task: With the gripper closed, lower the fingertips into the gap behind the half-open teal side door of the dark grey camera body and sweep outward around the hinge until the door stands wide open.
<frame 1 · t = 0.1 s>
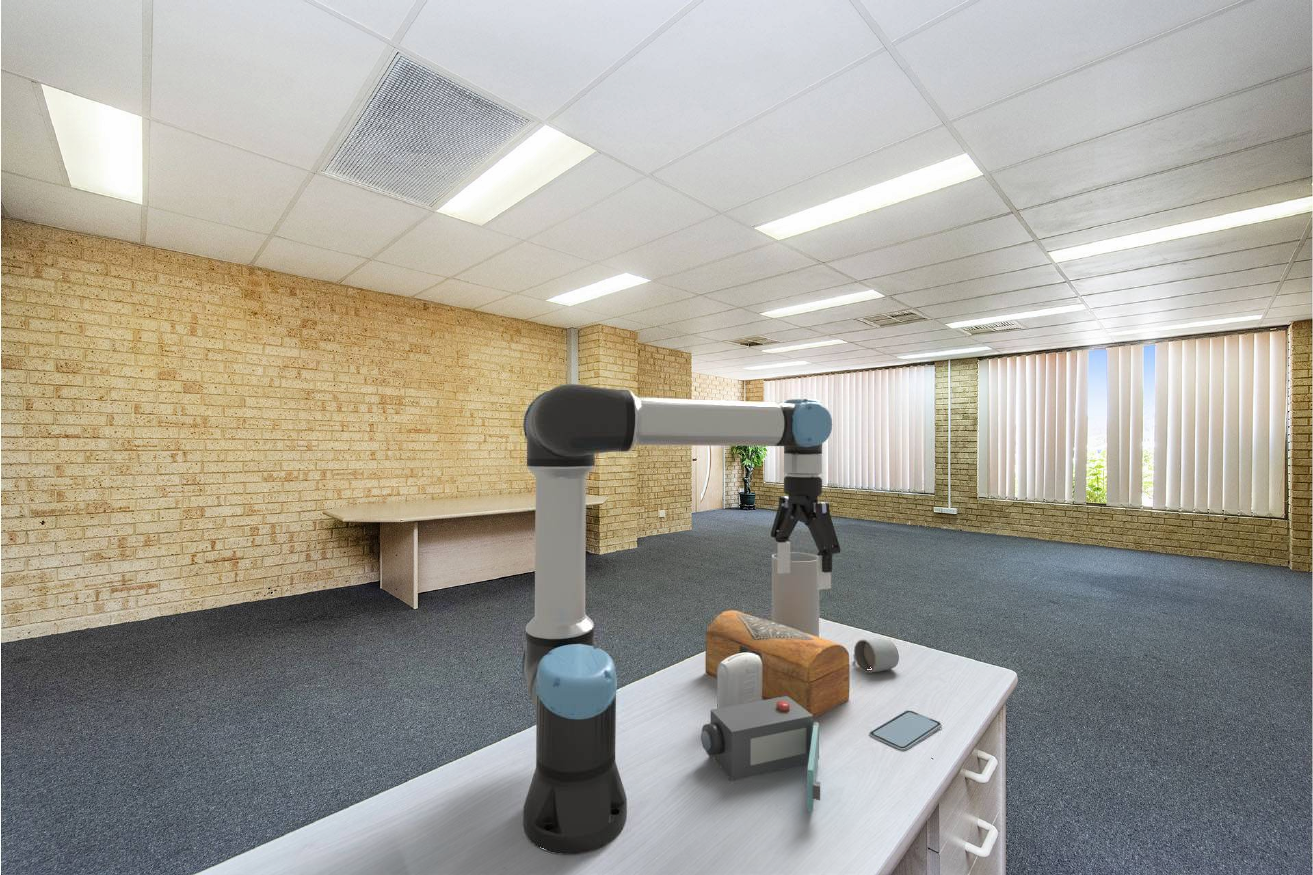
hand: (802, 580, 111), 28 cm above the table, tool pointing down, fingers open, 13 cm apart
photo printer: (739, 716, 112), on the table
cylinder vase: (795, 649, 148), on the table
side door: (816, 763, 88), point 4 cm above the table, hinge at 50.0°
ceramic mug: (872, 668, 136), on the table
camera body: (761, 758, 96), on the table
smartphone: (905, 733, 106), on the table
wooden box: (772, 687, 126), on the table
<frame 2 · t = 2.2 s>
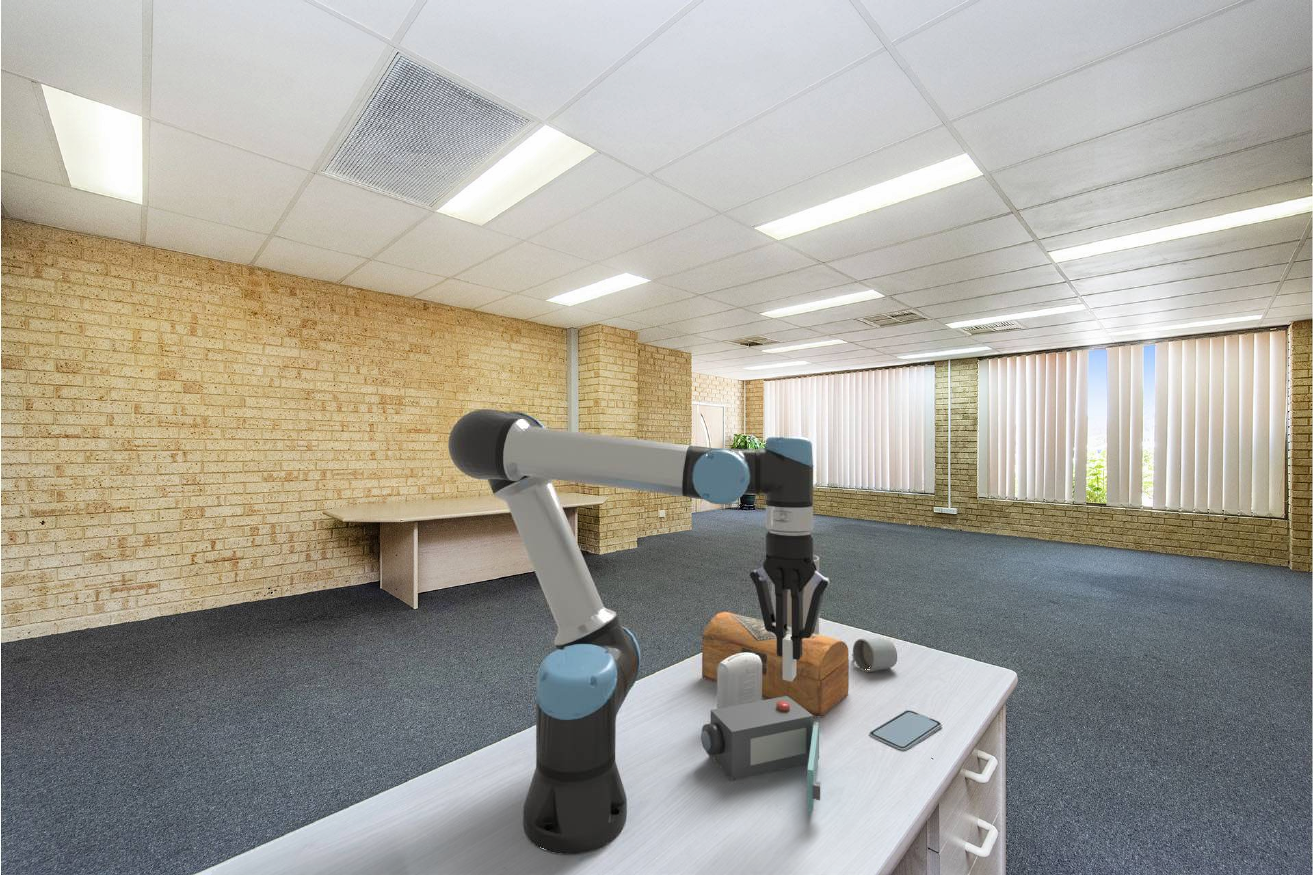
hand: (789, 677, 89), 18 cm above the table, tool pointing down, fingers closed
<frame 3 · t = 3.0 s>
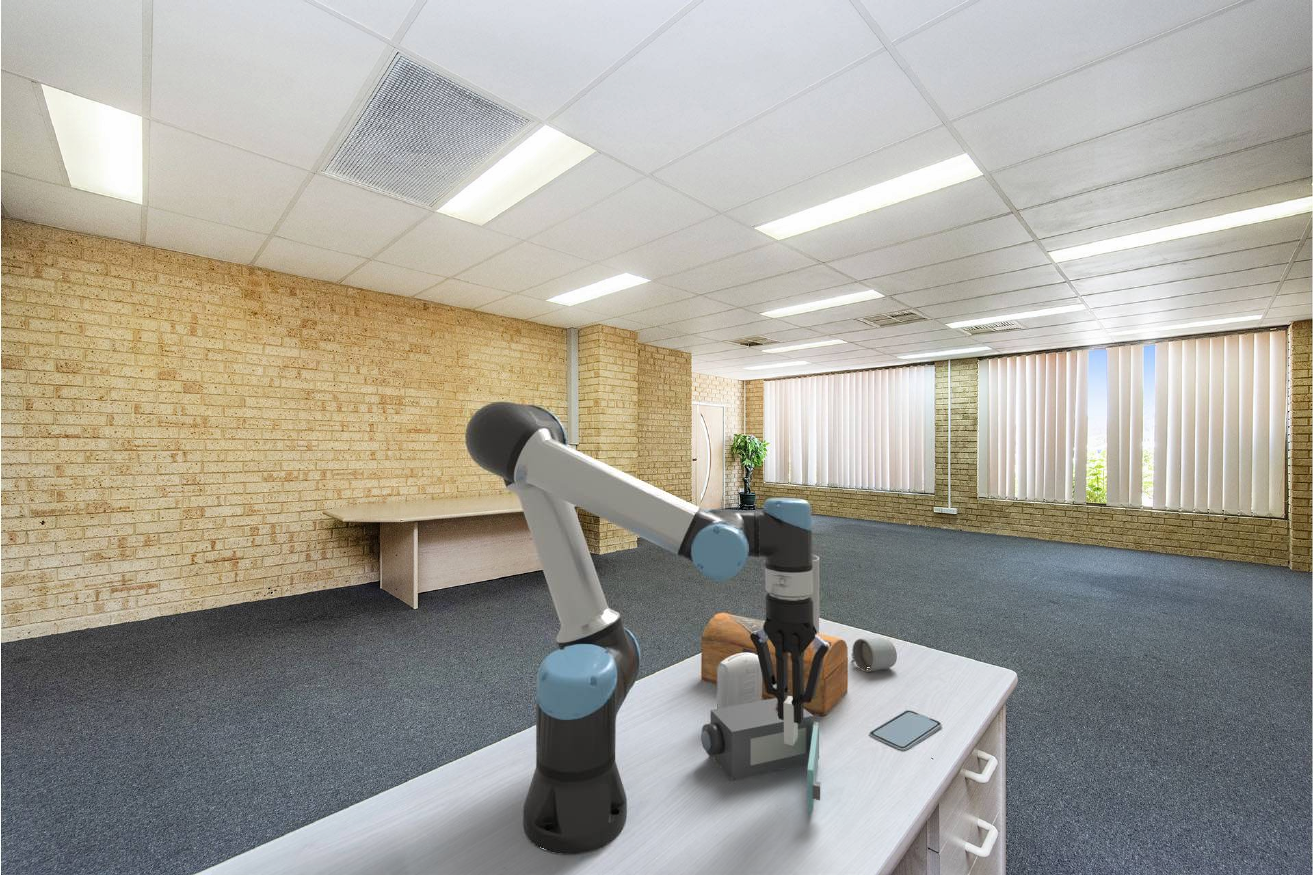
hand: (790, 740, 88), 8 cm above the table, tool pointing down, fingers closed
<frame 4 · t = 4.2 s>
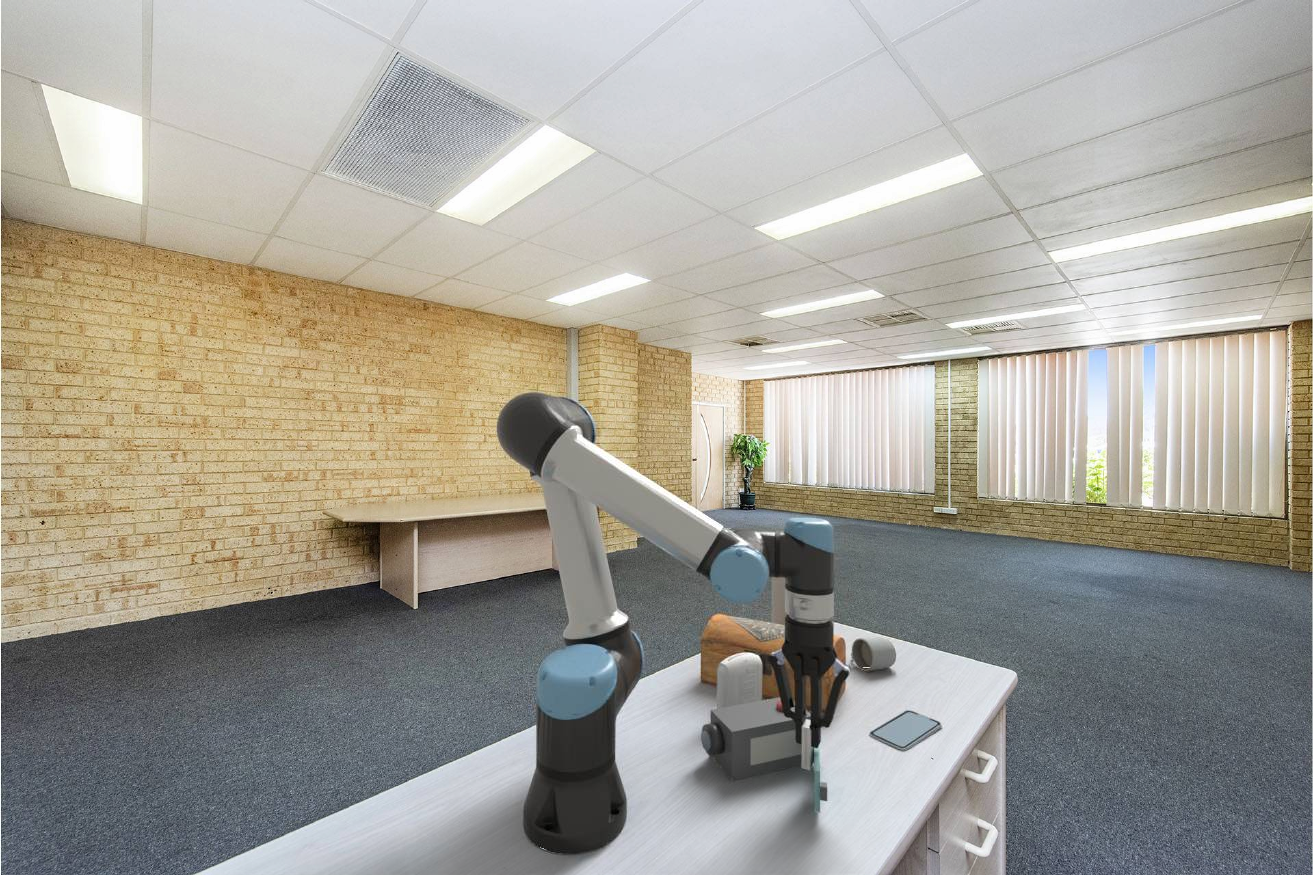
hand: (807, 764, 87), 4 cm above the table, tool pointing down, fingers closed
side door: (819, 764, 88), point 4 cm above the table, hinge at 54.1°, touching gripper
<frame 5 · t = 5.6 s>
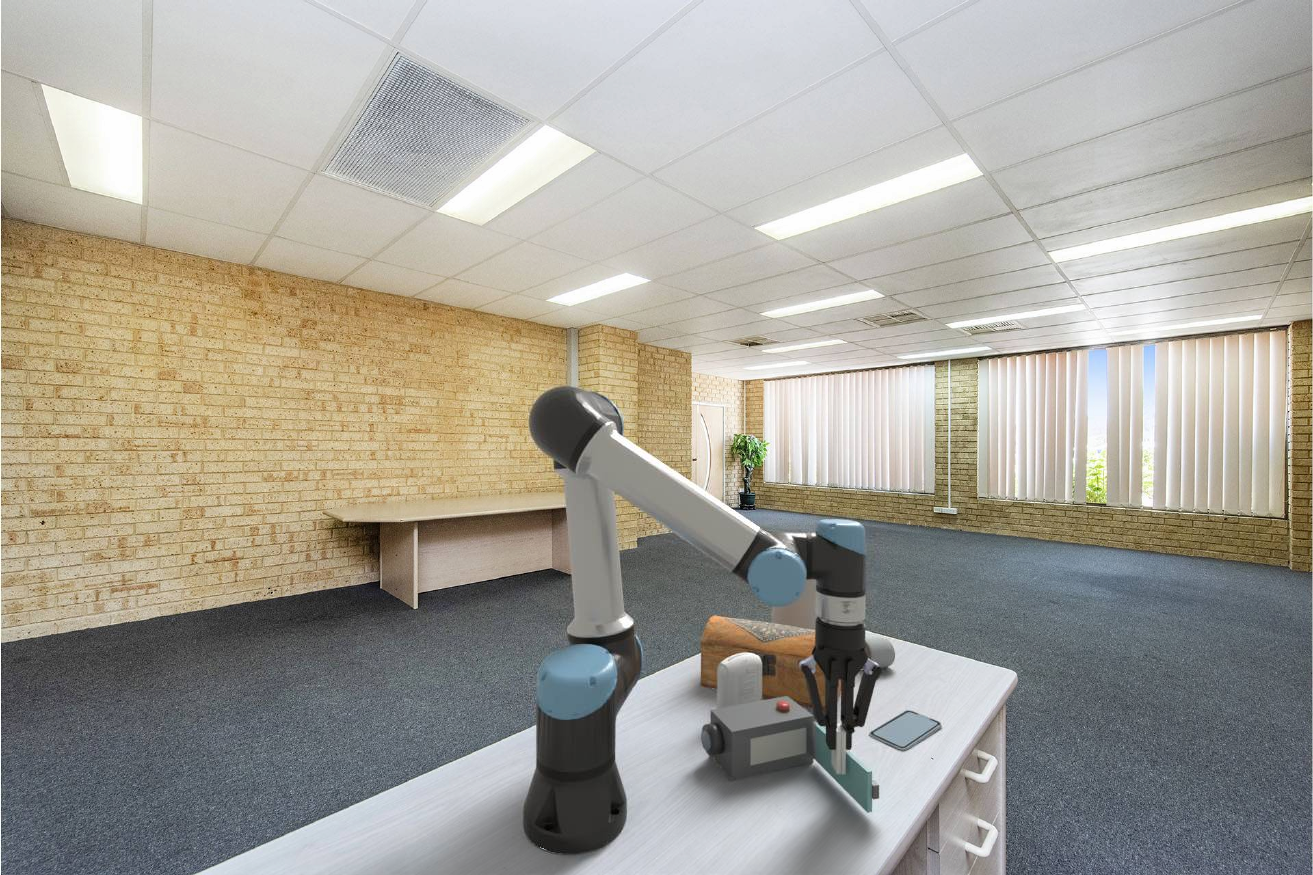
hand: (838, 768, 86), 4 cm above the table, tool pointing down, fingers closed
side door: (842, 763, 88), point 4 cm above the table, hinge at 85.4°, touching gripper
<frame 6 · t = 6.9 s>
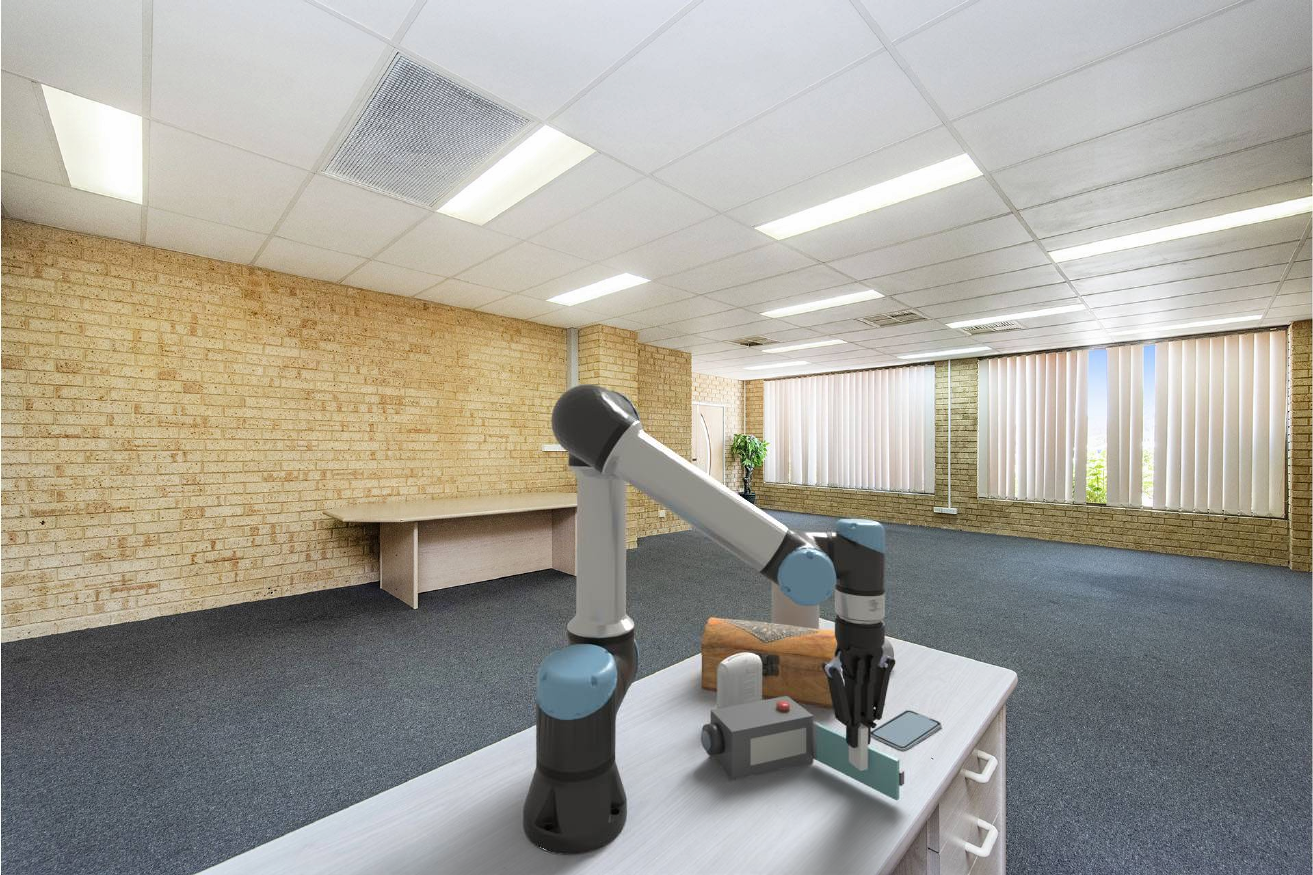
hand: (858, 764, 87), 4 cm above the table, tool pointing down, fingers closed
side door: (855, 757, 90), point 4 cm above the table, hinge at 110.5°, touching gripper
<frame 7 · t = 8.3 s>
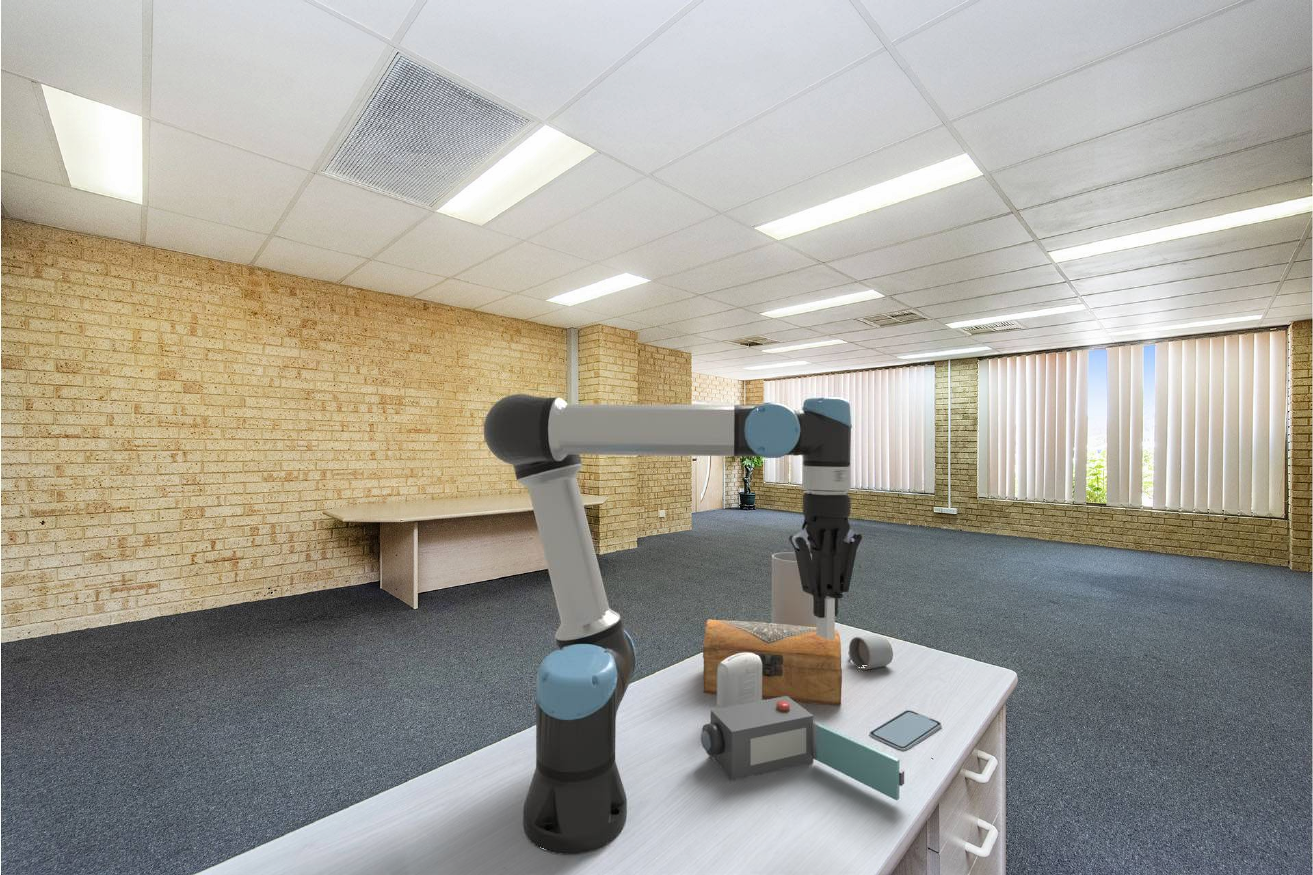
hand: (825, 636, 89), 24 cm above the table, tool pointing down, fingers closed
side door: (855, 757, 90), point 4 cm above the table, hinge at 110.5°
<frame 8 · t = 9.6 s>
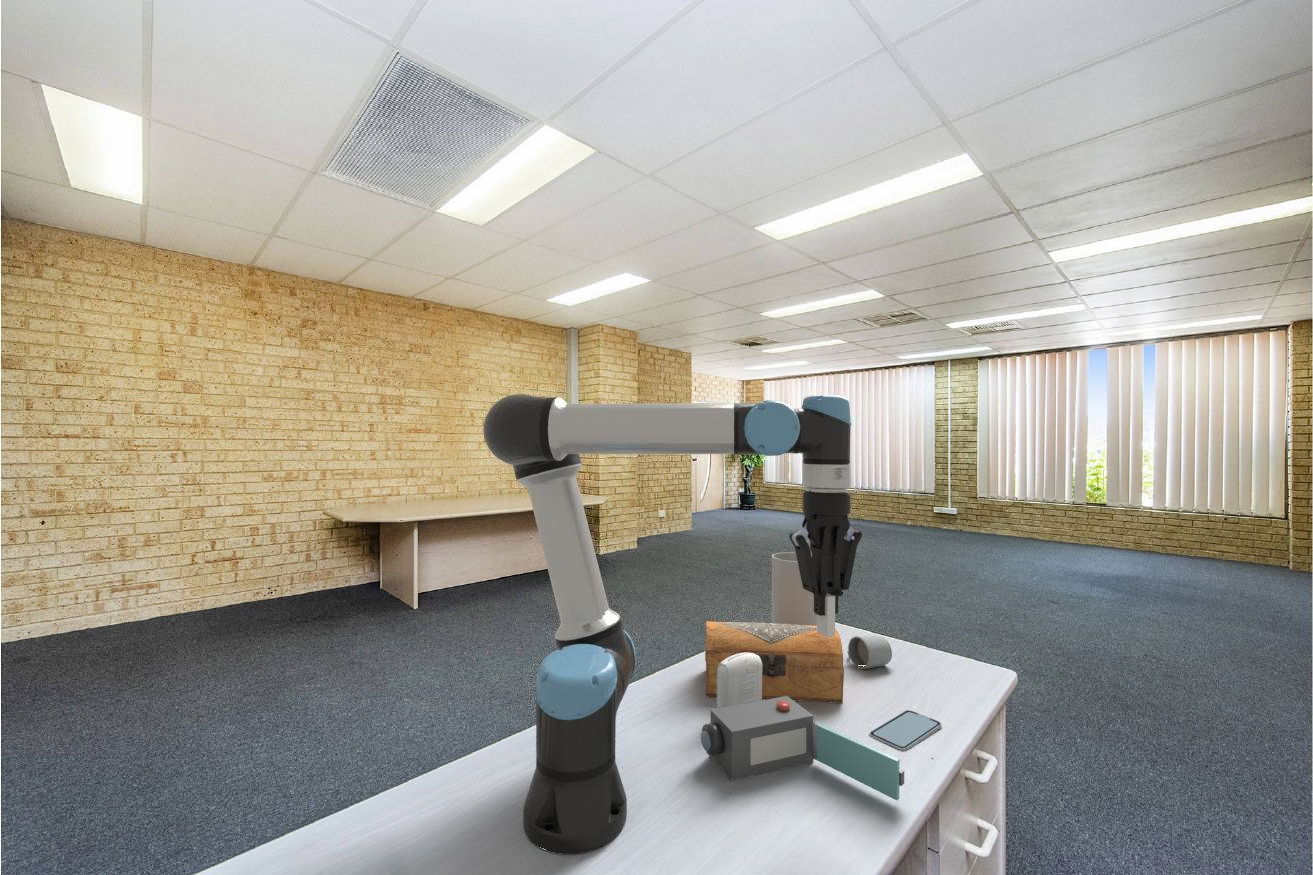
hand: (825, 633, 90), 24 cm above the table, tool pointing down, fingers closed
at the end: side door at +110° (first picture: +50°) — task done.
